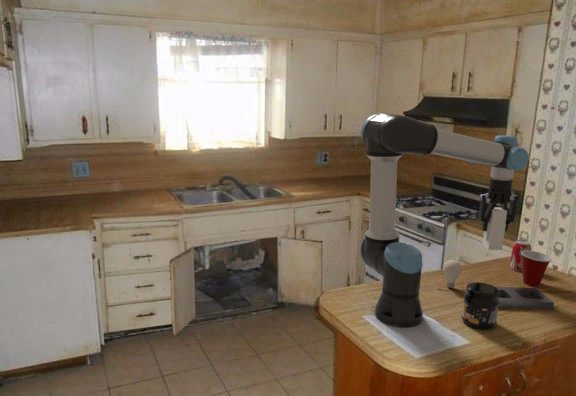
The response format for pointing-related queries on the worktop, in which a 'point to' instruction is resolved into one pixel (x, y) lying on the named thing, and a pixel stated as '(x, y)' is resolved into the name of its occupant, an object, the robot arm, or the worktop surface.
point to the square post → (496, 229)
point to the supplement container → (480, 305)
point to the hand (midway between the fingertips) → (493, 239)
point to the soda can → (518, 254)
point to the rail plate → (516, 300)
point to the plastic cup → (534, 266)
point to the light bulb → (451, 272)
